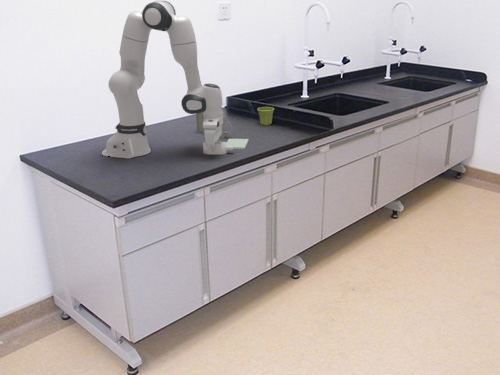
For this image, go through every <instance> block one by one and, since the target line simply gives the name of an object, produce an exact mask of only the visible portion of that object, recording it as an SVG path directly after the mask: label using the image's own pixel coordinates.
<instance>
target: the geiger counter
mask: <svg viewBox="0 0 500 375" xmlns="http://www.w3.org/2000/svg"><path fill="white" fill-rule="evenodd" d="M222 111H223V124H222V134H221V135H220V137H219V139H220V138H221V139H224V138H227V135H230V134H232V133H233V130H231V131H230V132H228V131H227V123H228V124H229V126H230V127H231V129H233V125H232V124H231V122H229V121H228V120H227V119H226V116H225V111H224V110H222ZM195 118H196V119H195V120H196V132H197V131H198V132H197V133H201V132H202V133H201V134H204V129H205V128H203V121H204V116H203V112H201V113H197V114H195Z"/></svg>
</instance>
